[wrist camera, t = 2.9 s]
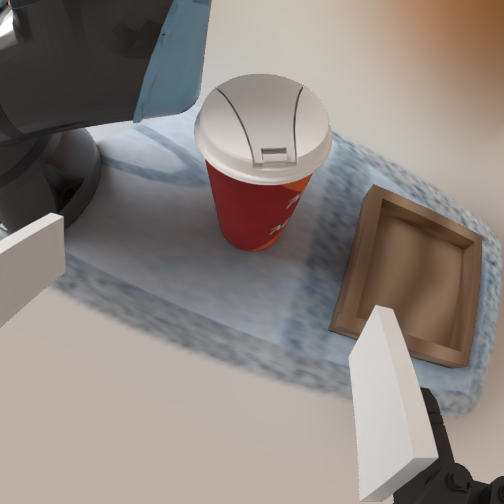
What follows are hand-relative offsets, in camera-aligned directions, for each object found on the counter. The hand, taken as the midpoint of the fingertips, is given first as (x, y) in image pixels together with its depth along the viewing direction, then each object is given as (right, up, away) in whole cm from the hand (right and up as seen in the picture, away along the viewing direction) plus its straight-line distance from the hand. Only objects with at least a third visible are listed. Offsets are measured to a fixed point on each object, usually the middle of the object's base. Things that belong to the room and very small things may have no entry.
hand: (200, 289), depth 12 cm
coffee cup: (+2, +4, +19) cm, 20 cm away
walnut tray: (+18, -2, +18) cm, 25 cm away
